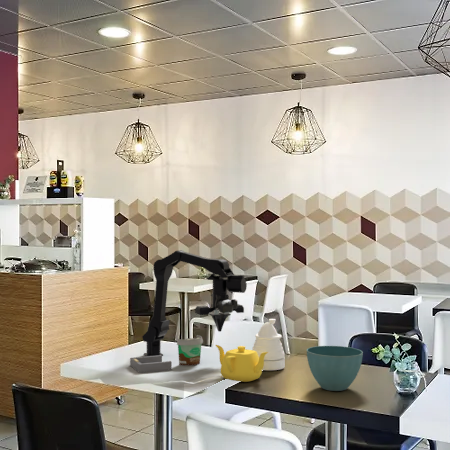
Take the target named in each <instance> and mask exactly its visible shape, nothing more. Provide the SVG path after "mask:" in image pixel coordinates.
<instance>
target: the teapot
mask: <svg viewBox="0 0 450 450" xmlns="http://www.w3.org/2000/svg"><path fill="white" fill-rule="evenodd" d="M215 347H216V348H217V349H218V352H219V353H218V354H219V362H220V374H221V376H222V377H223V379H225V380H228V381H229V380H230V381H235V382H244V383H247V382H248V383H249V382H252V381H255V380H258V379H259V378H260V377H261V375H262V373H263V370H262V369H263V366H264V357H265V355H266V354H267V353H268V352H263V353H261V354H260V357H259V356H258V354H257V352H256V351H253V350H252V349H246V346H245V345H239V346H237V348H233V349H229V350H227V351H226V352H225V351H224V348H223V347H222V346H221V345H219V344H215Z"/></svg>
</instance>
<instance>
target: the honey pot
mask: <svg viewBox="0 0 450 450" xmlns="http://www.w3.org/2000/svg"><path fill="white" fill-rule="evenodd" d="M274 324H276V318H269V319H268V322H267V321H266V322H265V323H263V324H262V326H261V327H260V328H259V331H258V332H257V333H256V334H255V341H254V342H253V346H252V349H251V350H253V351H256V352H257V354H258V356H259V357H260V354H261V353H263V352H268V353H267V354H266V355H265V357H264V366H263V369H262V371H277V370H278V371H279V370H283V369H284V368H285V365H286V364H285V363H286V362H285V360H286V358H285V357H286V355H285V351H284V347H283V343H282V342H281V340H280V339H282V337H283V335H282V334H280V333H278V331H277V329H276V328H275V326H274Z"/></svg>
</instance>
